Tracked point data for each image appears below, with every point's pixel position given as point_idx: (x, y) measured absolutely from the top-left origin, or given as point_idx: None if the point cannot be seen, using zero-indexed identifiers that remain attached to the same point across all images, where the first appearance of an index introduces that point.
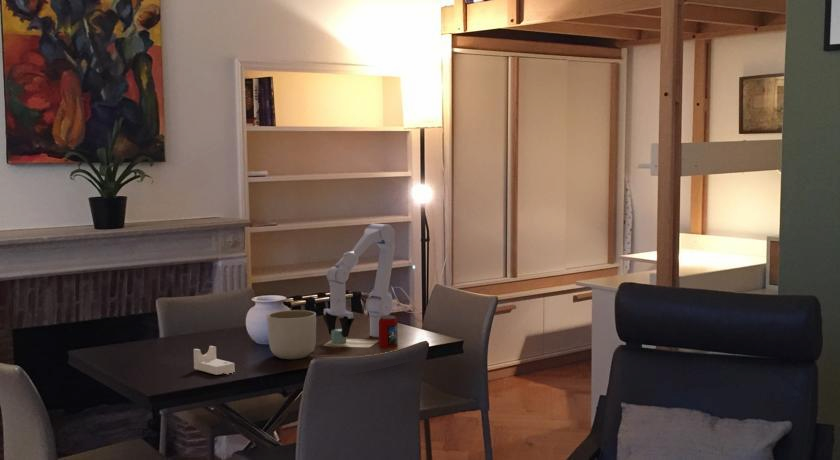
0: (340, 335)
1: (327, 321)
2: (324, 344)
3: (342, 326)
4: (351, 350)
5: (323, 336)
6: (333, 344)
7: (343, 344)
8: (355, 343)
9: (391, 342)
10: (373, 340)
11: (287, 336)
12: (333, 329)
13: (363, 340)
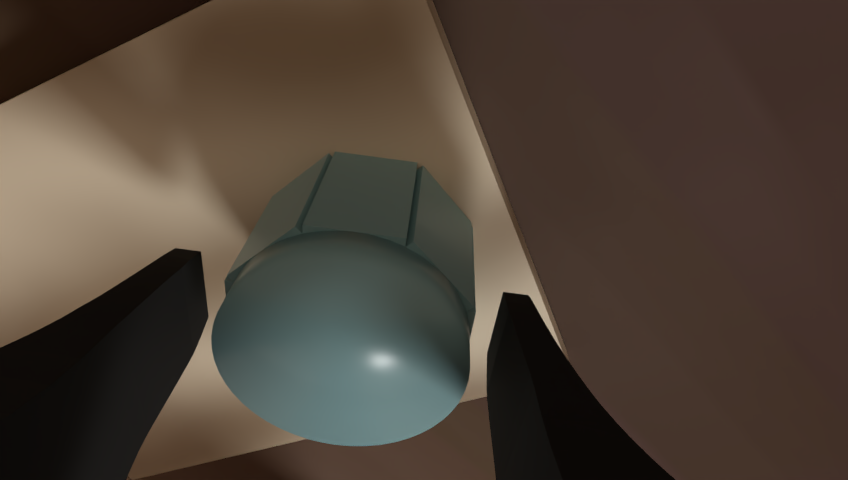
0: (239, 259)
1: (562, 455)
2: (431, 20)
3: (51, 352)
4: (6, 83)
5: (819, 447)
6: (314, 100)
7: (206, 174)
8: None
9: None
10: (151, 446)
11: None
12: (465, 373)
13: (221, 413)
